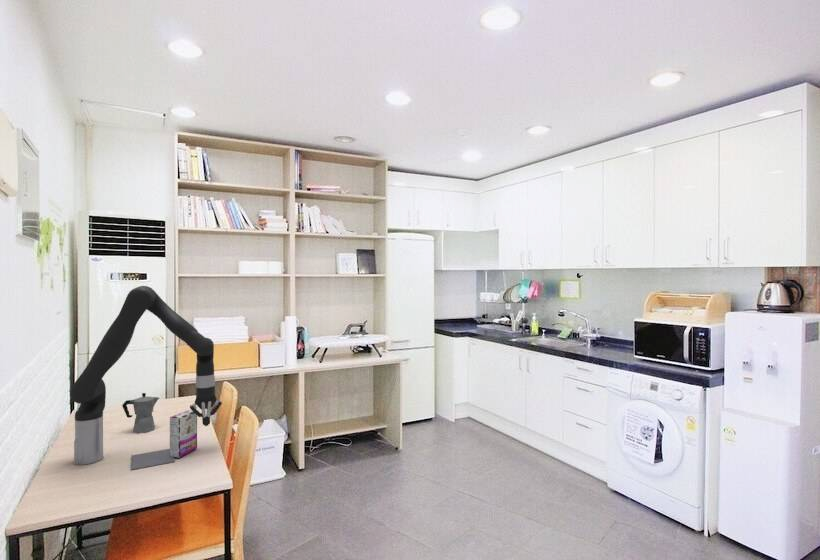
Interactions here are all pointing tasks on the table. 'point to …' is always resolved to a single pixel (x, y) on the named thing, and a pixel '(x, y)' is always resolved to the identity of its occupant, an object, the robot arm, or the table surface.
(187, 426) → the candy bar box
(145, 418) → the coffeepot
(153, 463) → the mat
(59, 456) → the table surface
